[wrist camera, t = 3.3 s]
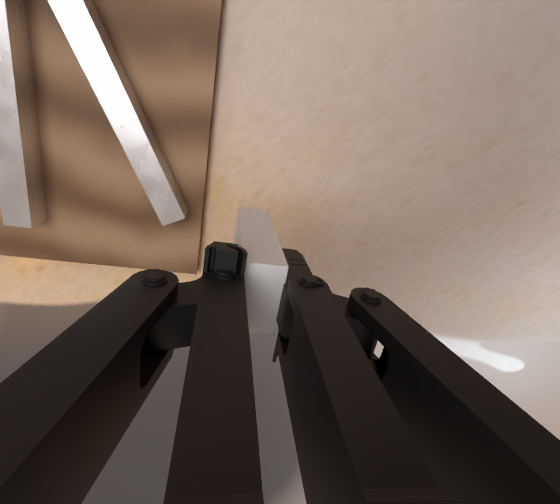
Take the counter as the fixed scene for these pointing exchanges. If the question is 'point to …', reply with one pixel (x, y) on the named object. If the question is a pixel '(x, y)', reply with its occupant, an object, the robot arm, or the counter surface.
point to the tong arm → (120, 105)
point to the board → (106, 146)
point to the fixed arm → (19, 123)
